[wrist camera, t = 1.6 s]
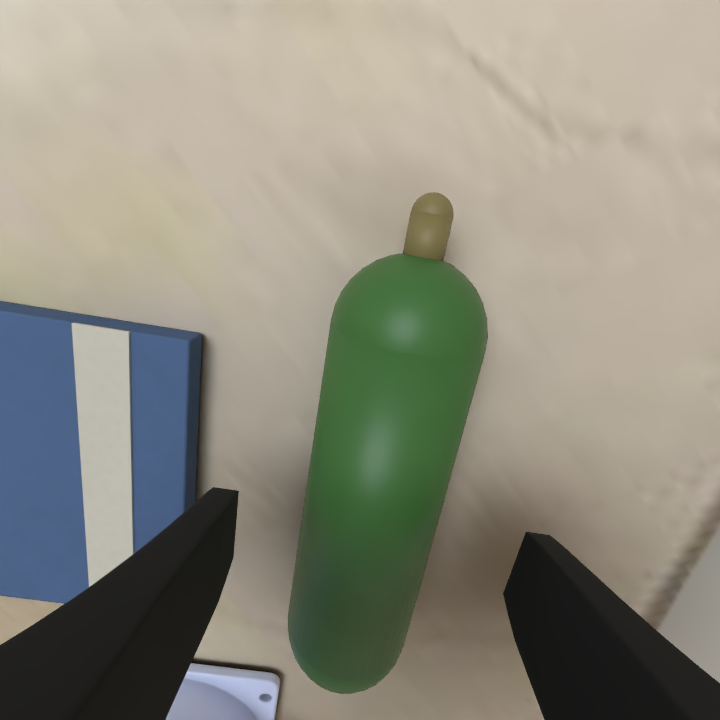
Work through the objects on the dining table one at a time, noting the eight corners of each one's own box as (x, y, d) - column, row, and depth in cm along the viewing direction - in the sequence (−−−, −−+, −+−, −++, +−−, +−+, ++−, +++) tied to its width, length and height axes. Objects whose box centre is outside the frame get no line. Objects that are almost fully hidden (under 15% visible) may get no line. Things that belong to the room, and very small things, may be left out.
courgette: (390, 611, 16) (399, 733, 12) (292, 599, 15) (270, 718, 12) (491, 213, 11) (561, 200, 7) (353, 188, 11) (349, 160, 7)
